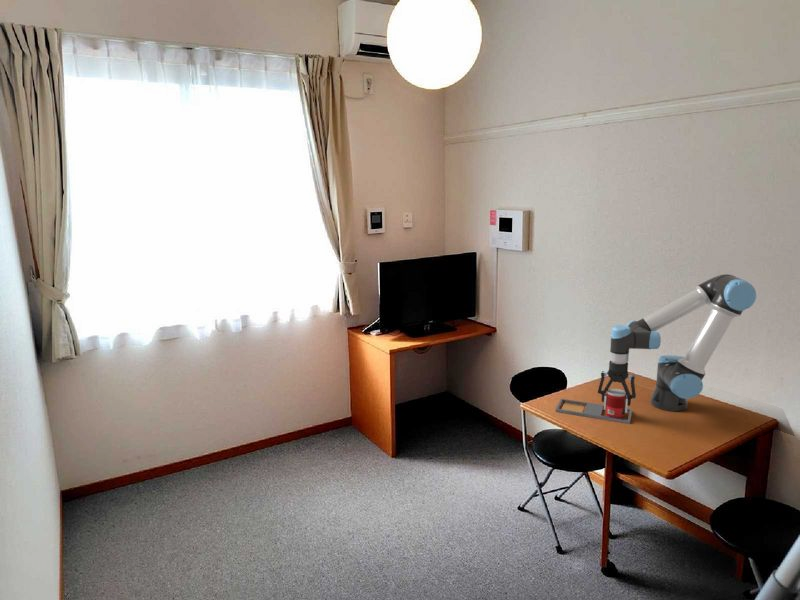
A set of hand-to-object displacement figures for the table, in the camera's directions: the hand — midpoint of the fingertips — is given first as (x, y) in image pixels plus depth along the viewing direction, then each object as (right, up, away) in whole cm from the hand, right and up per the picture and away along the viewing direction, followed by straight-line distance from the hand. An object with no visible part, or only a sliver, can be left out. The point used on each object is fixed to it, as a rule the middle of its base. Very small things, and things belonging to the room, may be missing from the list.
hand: (615, 410), depth 241 cm
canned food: (0, -2, +1) cm, 2 cm away
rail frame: (-8, -1, +4) cm, 9 cm away
